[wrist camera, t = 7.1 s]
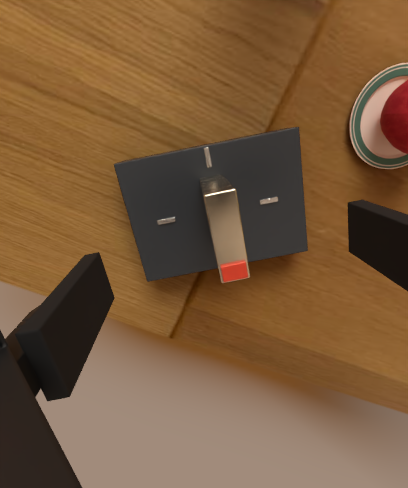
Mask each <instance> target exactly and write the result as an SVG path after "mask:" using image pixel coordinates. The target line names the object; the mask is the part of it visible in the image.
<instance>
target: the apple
mask: <svg viewBox="0 0 408 488" xmlns="http://www.w3.org/2000/svg"><path fill="white" fill-rule="evenodd" d="M349 132H350V139H351V143H352V145H353V148H354V150H355V151H356V153H357V154H358V156H359V157H360V158H361V159H362V160H363V161H364V162H366V163H367V164H369V165H371V166H373V167H377V168H381V169H395V168H400V167H403V166H406V165H408V63H401V64H397V65H394V66H391V67H389V68H387V69H385V70H383V71H381V72H380V73H378V74H377V75H376V76H374V77H373V78H372V79H371V80H370V81H369V82H368V83H367V84H366V85H365V87H364V88H363V89H362V91H361V92H360V94H359V95H358V97H357V99H356V101H355V103H354V106H353V108H352V112H351V116H350V123H349Z"/></svg>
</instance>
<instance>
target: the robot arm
mask: <svg viewBox="0 0 408 488" xmlns="http://www.w3.org/2000/svg"><path fill="white" fill-rule="evenodd" d="M348 233H349V252H350V253H352V254H353V255H355V256H356V257H358V258H359V259H361V260H362V261H364V262H365V263H367V264H368V265H370V266H371V267H373V268H374V269H376V270H377V271H379V272H380V273H382V274H383V275H385V276H386V277H387V278H389V279H390V280H392V281H393V282H395V283H396V284H398V285H399V286H401V287H402V288H404V289H405V290H407V291H408V215H407V214H404V213H401V212H398V211H395V210H392V209H389V208H386V207H383V206H380V205H377V204H374V203H371V202H368V201H365V200H359V201H354V202H349V203H348ZM113 300H114V295H113V292H112V289H111V286H110V283H109V280H108V277H107V274H106V271H105V268H104V265H103V262H102V259H101V256H100V253H99V252H98V253H93V254H88V255H84V257H83V258H82V259H81V260H80V261H79V262H78V263H77V265H76V266H75V267H74V268H73V269H72V270H71V271H70V272H69V274H68V275H67V276H66V277H65V278H64V279H63V280H62V281H61V283H60V284H59V285H58V286H57V287H56V288H55V289H54V290H53V292H52V293H51V294H50V295H49V296H48V297H47V298H46V299H45V301H44V302H43V303H42V304H41V305H40V306H38V307H37V308H35V309H34V310H32V311H31V312H30V313H29V314H28V315H27V316H26V317H25V318H24V319H23V320H22V322H20V324H19V325H18V326H17V328H15V329H14V330H13V331H12V332H11V333H10V334H9V336H8V337H7V338H6V339H4V336H3V335H2V333H1V331H0V488H82V487H81V485H80V483H79V481H78V479H77V477H76V475H75V473H74V471H73V469H72V467H71V465H70V463H69V461H68V460H67V458H66V456H65V454H64V452H63V450H62V448H61V446H60V444H59V442H58V440H57V439H56V437H55V435H54V433H53V431H52V429H51V427H50V425H49V423H48V421H47V419H46V417H45V415H44V414H43V412H42V410H41V408H40V406H39V404H38V402H37V400H36V398H35V397H36V395H37V394H38V392H39V390H40V388H41V389H42V391H43V393H44V395H45V397H46V399H47V401H51V400H56V399H62V398H66V397H70V395H71V393H72V391H73V388H74V386H75V383H76V382H77V380H78V377H79V375H80V373H81V371H82V368H83V366H84V364H85V362H86V360H87V358H88V355H89V353H90V351H91V349H92V347H93V344H94V342H95V340H96V338H97V335H98V333H99V331H100V329H101V326H102V324H103V322H104V320H105V318H106V316H107V313H108V311H109V309H110V307H111V305H112V302H113Z"/></svg>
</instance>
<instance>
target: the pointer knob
mask: <svg viewBox="0 0 408 488" xmlns="http://www.w3.org/2000/svg"><path fill="white" fill-rule="evenodd" d="M200 185H201V190H202V195H203V200H204V204H205V209H206V214H207V219H208V224H209V229H210V234H211V239H212V243H213V248H214V253H215V257H216V262H217V266H218V271H219V275H220V280H221V283H226V282H231V281H236V280H241V279H246V278H250V272H249V266H248V259H247V253H246V247H245V241H244V235H243V229H242V223H241V217H240V211H239V205H238V198H237V192H236V189H235V188H234V187H233V186H232V184H231V183H230V182H229V181H228V180H227V179H226V178H225V177H224V176H223V175H222V174H219V175H215V176H210V177H205V178H201V179H200Z"/></svg>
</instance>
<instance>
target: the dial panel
mask: <svg viewBox="0 0 408 488" xmlns="http://www.w3.org/2000/svg"><path fill="white" fill-rule="evenodd" d="M114 167H115V171H116V174H117V178H118V181H119V185H120V188H121V192H122V195H123V199H124V202H125V206H126V209H127V212H128V216H129V219H130V223H131V226H132V230H133V233H134V237H135V240H136V244H137V247H138V251H139V254H140V258H141V261H142V265H143V268H144V272H145V275H146V279H147V281H148V282H149V281H154V280H159V279H164V278H169V277H174V276H180V275H185V274H190V273H195V272H200V271H206V270H211V269H216V268H218V266H217V262H216V257H215V253H214V248H213V243H212V239H211V234H210V229H209V224H208V219H207V214H206V209H205V204H204V200H203V195H202V190H201V185H200V179H201V178H205V177H210V176H215V175H219V174H222V175H223V176H224V177H225V178H226V179H227V180H228V181H229V182H230V183H231V184H232V186H233V187H234V188H235V189H236V192H237V198H238V205H239V211H240V217H241V223H242V229H243V235H244V241H245V247H246V253H247V259H248V262H252V261H257V260H263V259H268V258H273V257H278V256H283V255H288V254H294V253H299V252H304V251H308V247H307V233H306V219H305V205H304V192H303V178H302V164H301V150H300V136H299V127H293V128H285V129H280V130H275V131H270V132H265V133H260V134H255V135H250V136H245V137H240V138H235V139H230V140H225V141H220V142H215V143H210V144H205V145H200V146H195V147H190V148H185V149H180V150H176V151H171V152H166V153H161V154H156V155H151V156H146V157H141V158H136V159H131V160H126V161H122V162H119V163H116V164H114Z"/></svg>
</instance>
